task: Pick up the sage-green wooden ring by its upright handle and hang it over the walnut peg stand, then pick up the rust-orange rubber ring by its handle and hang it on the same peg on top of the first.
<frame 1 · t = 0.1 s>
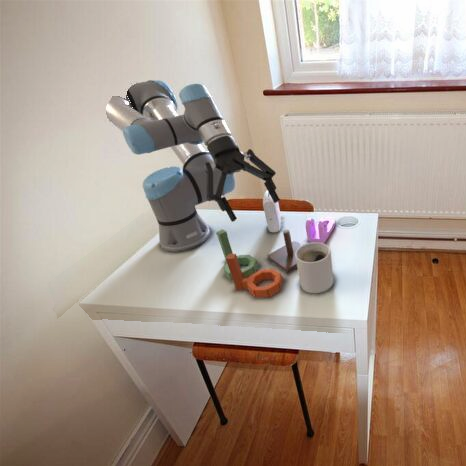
hand: (256, 210, 90), 15 cm above the table, tool tilted 35°, fingers open, 13 cm apart
peg stand: (291, 258, 96), on the table
rust ring: (266, 286, 86), on the table
bracket: (323, 231, 108), on the table
mug: (318, 280, 88), on the table
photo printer: (275, 225, 113), on the table
sage ring: (242, 270, 93), on the table
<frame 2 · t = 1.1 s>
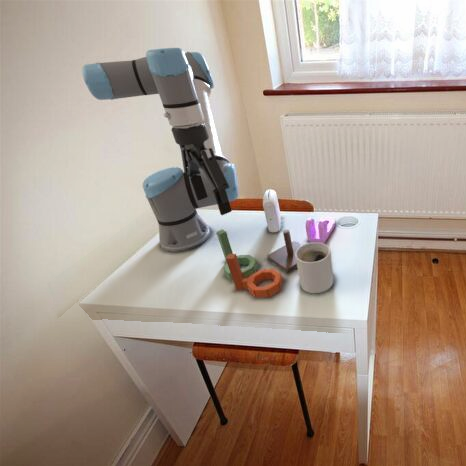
hand: (213, 205, 87), 19 cm above the table, tool pointing down, fingers open, 13 cm apart
nothing on the table moved.
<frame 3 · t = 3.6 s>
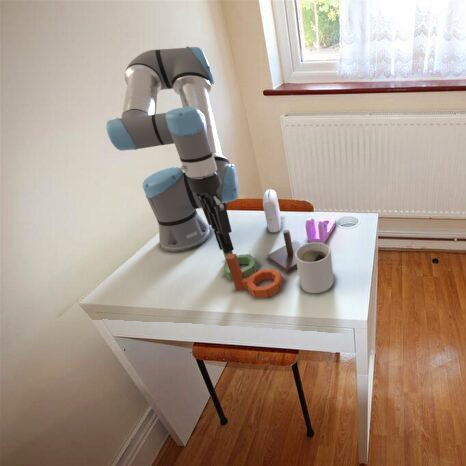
hand: (226, 249, 95), 4 cm above the table, tool pointing down, fingers closed on sage ring, 2 cm apart
sage ring: (242, 270, 93), on the table, touching gripper
everything else where it was.
when the fingers open (11 cm above the table, at t = 9.1 s): sage ring drops 6 cm, resting on peg stand.
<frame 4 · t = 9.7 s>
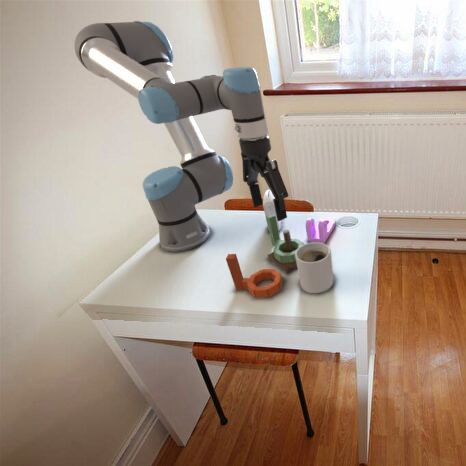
hand: (270, 212, 93), 13 cm above the table, tool pointing down, fingers open, 12 cm apart
sage ring: (290, 253, 96), point 1 cm above the table, touching peg stand
everything else where it was.
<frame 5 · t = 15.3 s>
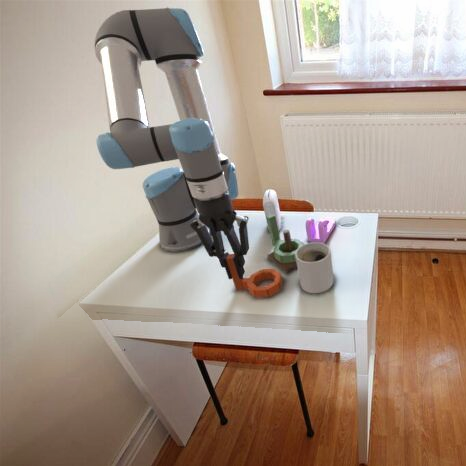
hand: (236, 275, 84), 4 cm above the table, tool pointing down, fingers closed on rust ring, 2 cm apart
rust ring: (266, 286, 86), on the table, touching gripper
everything else where it was.
when the fingers open (11 cm above the table, at t = 20.8 s): rust ring drops 3 cm, resting on sage ring.
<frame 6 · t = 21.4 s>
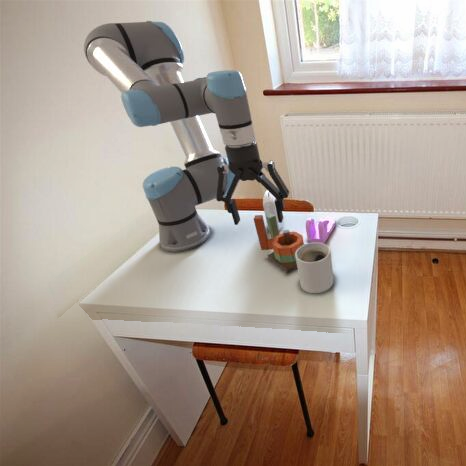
hand: (259, 221, 89), 13 cm above the table, tool pointing down, fingers open, 11 cm apart
rust ring: (288, 247, 94), point 4 cm above the table, touching sage ring
sage ring: (290, 253, 96), point 1 cm above the table, touching peg stand, rust ring
everything else where it was.
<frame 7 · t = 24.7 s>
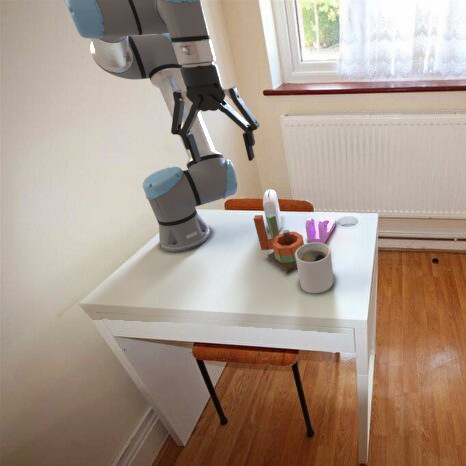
hand: (224, 160, 81), 31 cm above the table, tool pointing down, fingers open, 13 cm apart
nothing on the table moved.
at the end: sage ring 0.2 cm off-centre on the peg stand, point 1.5 cm above the peg stand's base; rust ring 0.1 cm off-centre on the peg stand, point 4.1 cm above the peg stand's base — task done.
